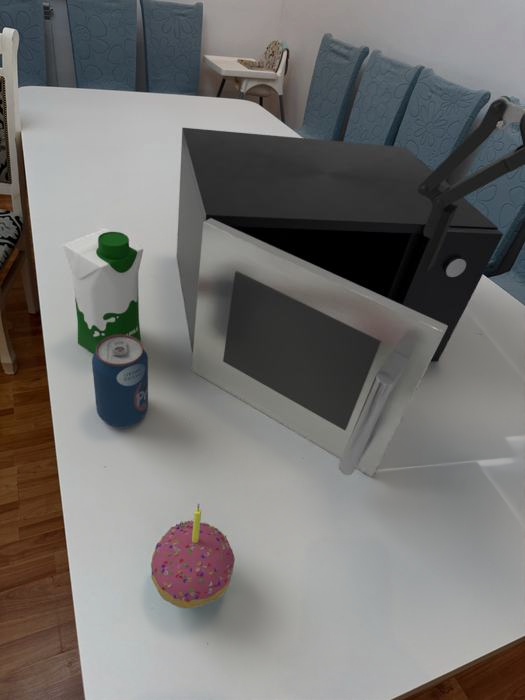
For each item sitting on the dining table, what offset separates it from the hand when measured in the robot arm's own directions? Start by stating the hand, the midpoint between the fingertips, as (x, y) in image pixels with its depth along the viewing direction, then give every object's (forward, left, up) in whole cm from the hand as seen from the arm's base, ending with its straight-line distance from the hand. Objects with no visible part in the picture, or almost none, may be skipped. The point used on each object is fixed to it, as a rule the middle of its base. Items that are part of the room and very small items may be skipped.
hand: (491, 294), depth 49 cm
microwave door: (+16, -10, -31) cm, 36 cm away
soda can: (+36, -14, -31) cm, 50 cm away
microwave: (+3, -39, -31) cm, 50 cm away
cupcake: (+29, +11, -31) cm, 44 cm away
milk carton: (+38, -29, -31) cm, 57 cm away
